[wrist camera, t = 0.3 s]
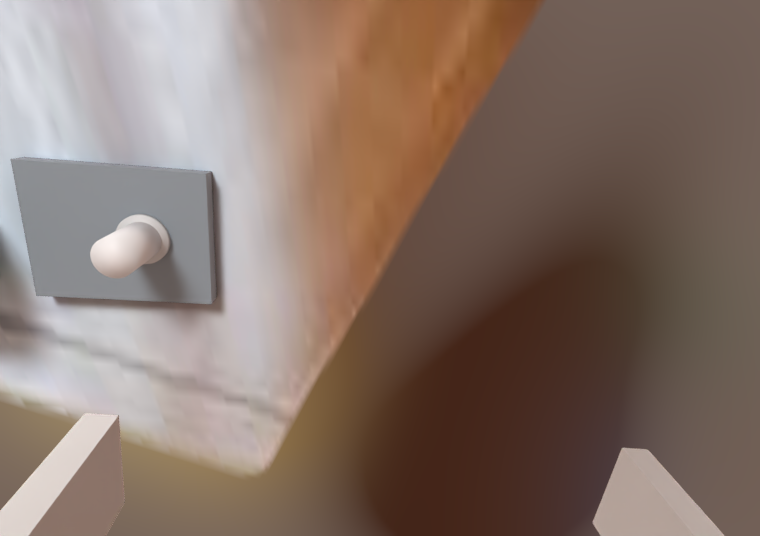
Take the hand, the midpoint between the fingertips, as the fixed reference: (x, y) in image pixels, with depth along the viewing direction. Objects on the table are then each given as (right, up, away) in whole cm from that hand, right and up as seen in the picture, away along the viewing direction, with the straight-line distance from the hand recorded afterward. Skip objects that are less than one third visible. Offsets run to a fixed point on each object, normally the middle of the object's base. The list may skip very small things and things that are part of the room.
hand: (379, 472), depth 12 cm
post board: (-21, +8, +25) cm, 33 cm away
